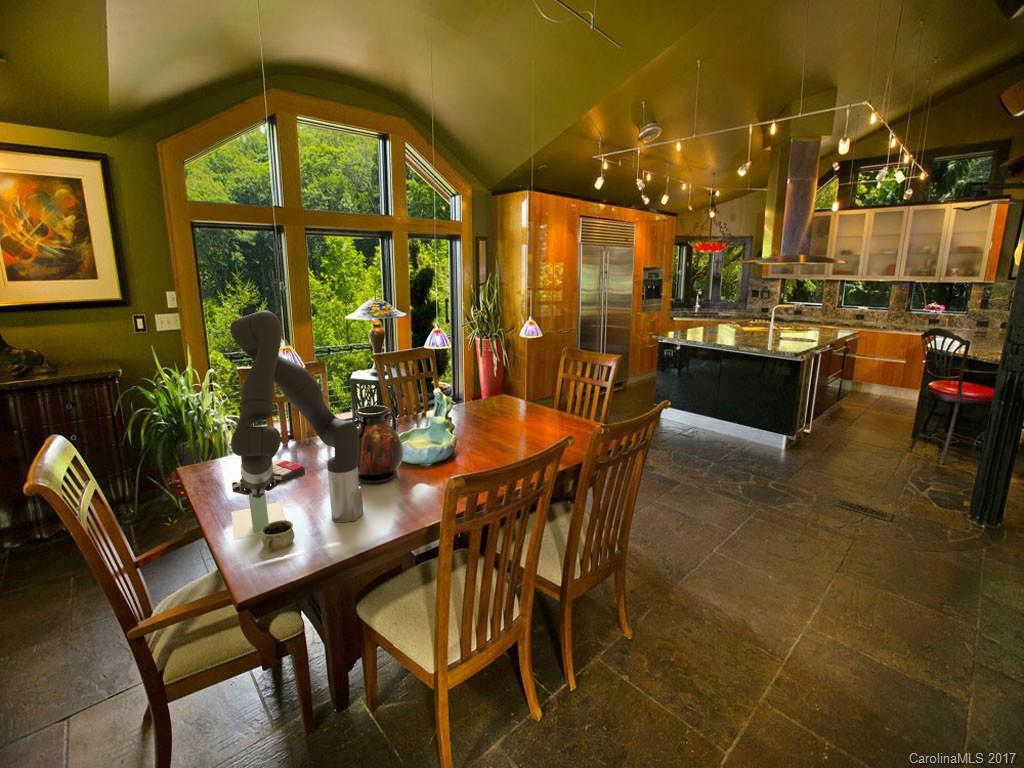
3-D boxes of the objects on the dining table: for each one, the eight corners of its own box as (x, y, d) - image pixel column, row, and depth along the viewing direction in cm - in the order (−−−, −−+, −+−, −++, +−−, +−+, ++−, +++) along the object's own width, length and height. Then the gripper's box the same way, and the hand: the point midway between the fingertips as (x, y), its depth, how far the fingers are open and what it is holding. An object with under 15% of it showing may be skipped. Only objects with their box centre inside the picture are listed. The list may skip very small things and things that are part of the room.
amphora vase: (386, 462, 210) (383, 399, 203) (415, 478, 195) (412, 409, 188) (338, 477, 195) (332, 409, 189) (365, 494, 180) (360, 421, 174)
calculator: (281, 475, 189) (255, 466, 195) (282, 485, 190) (256, 476, 197) (305, 465, 198) (279, 456, 205) (305, 475, 199) (280, 466, 206)
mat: (288, 528, 156) (288, 526, 156) (234, 541, 149) (234, 539, 149) (280, 503, 173) (280, 501, 173) (231, 514, 165) (231, 512, 165)
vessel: (276, 535, 153) (274, 516, 151) (304, 536, 152) (302, 518, 151) (253, 556, 141) (250, 537, 140) (282, 558, 140) (280, 538, 139)
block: (269, 529, 155) (264, 487, 151) (253, 532, 152) (248, 490, 149) (267, 523, 158) (263, 482, 155) (252, 526, 156) (247, 485, 153)
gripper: (282, 452, 136) (280, 478, 149) (227, 461, 129) (230, 488, 142) (286, 477, 133) (284, 501, 146) (230, 488, 126) (233, 512, 139)
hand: (257, 495), depth 144 cm, fingers closed
